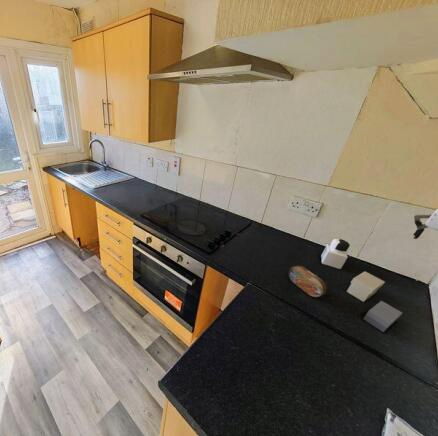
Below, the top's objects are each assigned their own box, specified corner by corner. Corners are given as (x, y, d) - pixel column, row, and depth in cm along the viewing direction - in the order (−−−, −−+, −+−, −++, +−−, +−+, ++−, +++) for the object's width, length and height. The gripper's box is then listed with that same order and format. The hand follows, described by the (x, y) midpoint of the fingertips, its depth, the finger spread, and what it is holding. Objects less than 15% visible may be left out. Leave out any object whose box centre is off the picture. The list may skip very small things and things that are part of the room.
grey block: (395, 321, 85) (402, 312, 83) (383, 332, 81) (390, 323, 78) (374, 308, 90) (381, 300, 87) (362, 318, 86) (369, 310, 83)
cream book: (381, 286, 94) (385, 281, 93) (370, 294, 90) (373, 289, 89) (361, 275, 100) (364, 271, 98) (350, 282, 95) (353, 278, 94)
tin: (285, 276, 104) (292, 262, 100) (290, 275, 105) (297, 261, 101) (317, 301, 92) (325, 286, 88) (322, 299, 93) (331, 284, 89)
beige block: (374, 293, 97) (380, 285, 94) (363, 301, 93) (369, 293, 90) (357, 283, 102) (363, 276, 99) (346, 291, 97) (351, 283, 95)
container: (338, 261, 115) (351, 240, 109) (340, 269, 110) (353, 248, 103) (320, 255, 119) (331, 235, 113) (321, 263, 113) (332, 242, 107)
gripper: (513, 212, 70) (472, 255, 79) (434, 192, 84) (406, 231, 92) (508, 216, 67) (466, 261, 76) (426, 195, 80) (398, 235, 89)
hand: (433, 244), depth 84 cm, fingers open, 9 cm apart
